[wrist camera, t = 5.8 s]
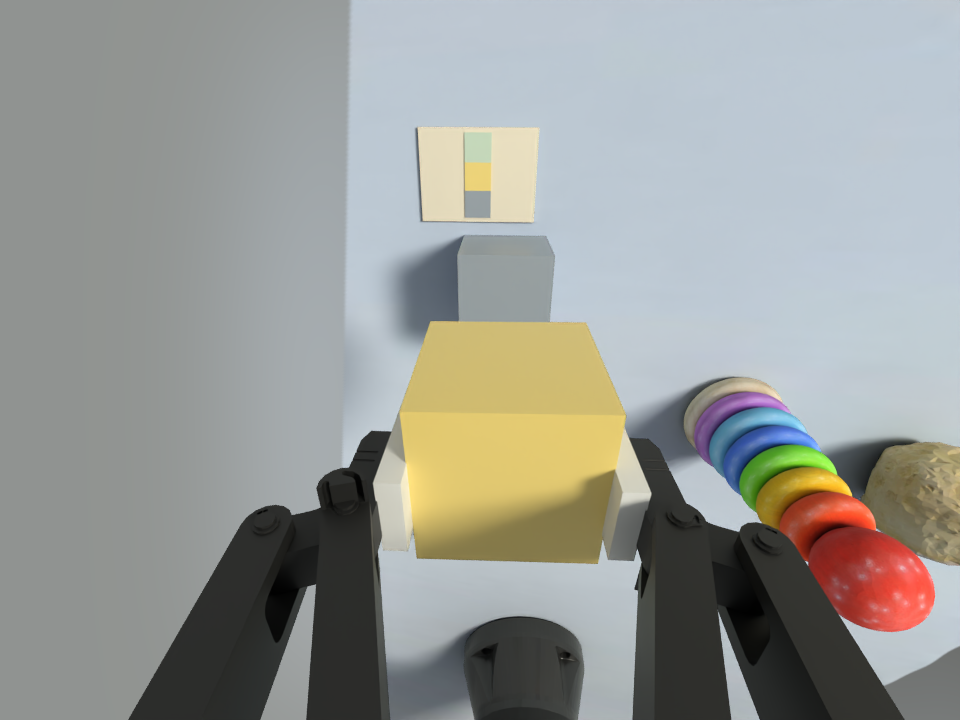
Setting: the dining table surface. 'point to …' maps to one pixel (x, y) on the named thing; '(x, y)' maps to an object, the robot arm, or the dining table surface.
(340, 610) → the robot arm
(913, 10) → the dining table surface
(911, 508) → the tan rough rounded lump
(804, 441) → the stacking toy
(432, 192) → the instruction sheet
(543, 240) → the slate brick
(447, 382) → the mustard brick
